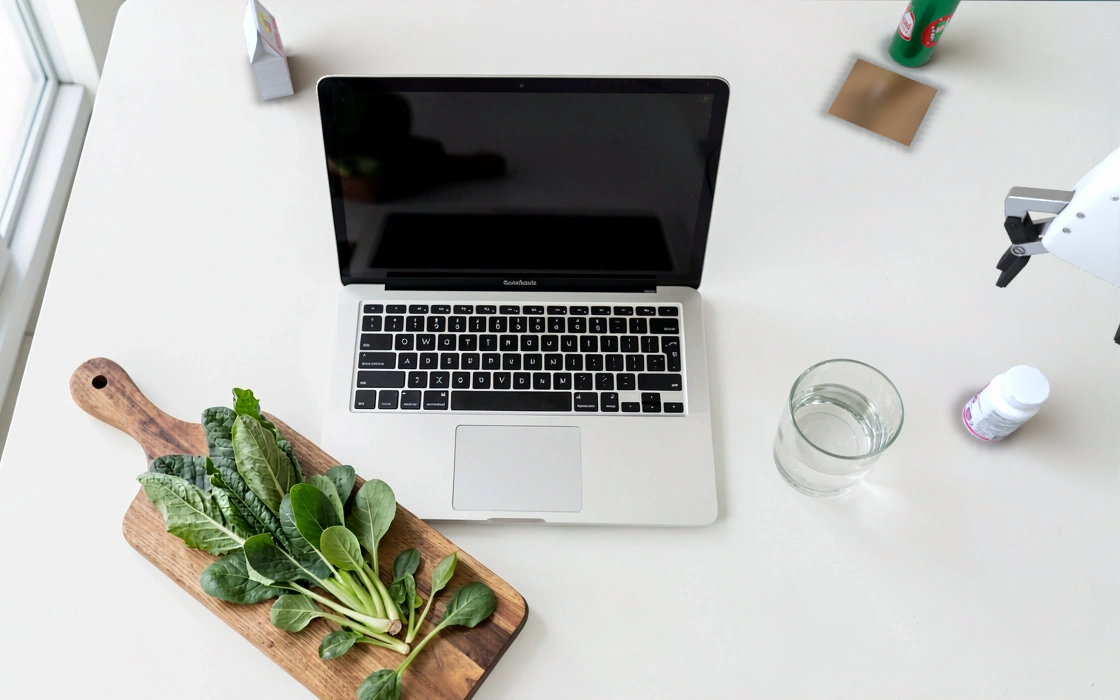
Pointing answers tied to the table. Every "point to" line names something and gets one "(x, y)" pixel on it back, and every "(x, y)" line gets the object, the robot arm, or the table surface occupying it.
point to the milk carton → (266, 52)
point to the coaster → (882, 101)
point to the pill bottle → (1006, 403)
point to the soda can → (921, 30)
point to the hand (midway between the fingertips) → (1062, 302)
